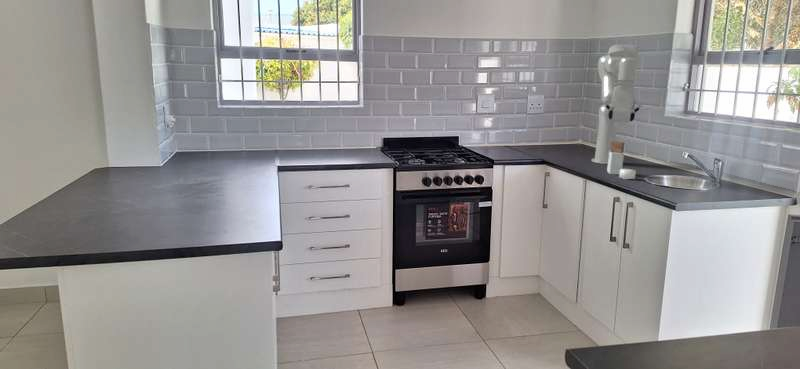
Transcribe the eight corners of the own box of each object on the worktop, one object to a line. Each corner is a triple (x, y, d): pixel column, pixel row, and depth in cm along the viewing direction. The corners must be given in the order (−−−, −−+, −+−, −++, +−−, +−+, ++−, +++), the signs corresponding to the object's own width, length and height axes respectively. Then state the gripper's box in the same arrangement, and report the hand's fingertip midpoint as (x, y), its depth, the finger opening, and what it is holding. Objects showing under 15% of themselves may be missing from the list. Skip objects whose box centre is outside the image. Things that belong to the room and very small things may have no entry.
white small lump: (619, 176, 271) (620, 168, 270) (634, 178, 268) (635, 169, 268) (618, 178, 264) (619, 170, 264) (634, 180, 262) (636, 171, 261)
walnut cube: (612, 150, 279) (614, 141, 278) (623, 152, 276) (624, 142, 275) (610, 152, 275) (611, 141, 274) (620, 153, 272) (622, 143, 271)
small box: (621, 175, 274) (624, 153, 271) (609, 174, 275) (612, 152, 272) (618, 172, 281) (621, 151, 279) (606, 171, 282) (609, 150, 280)
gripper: (605, 83, 270) (600, 118, 274) (643, 85, 261) (638, 122, 265) (608, 83, 276) (604, 117, 280) (646, 85, 267) (641, 121, 271)
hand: (620, 120), depth 272 cm, fingers open, 9 cm apart
